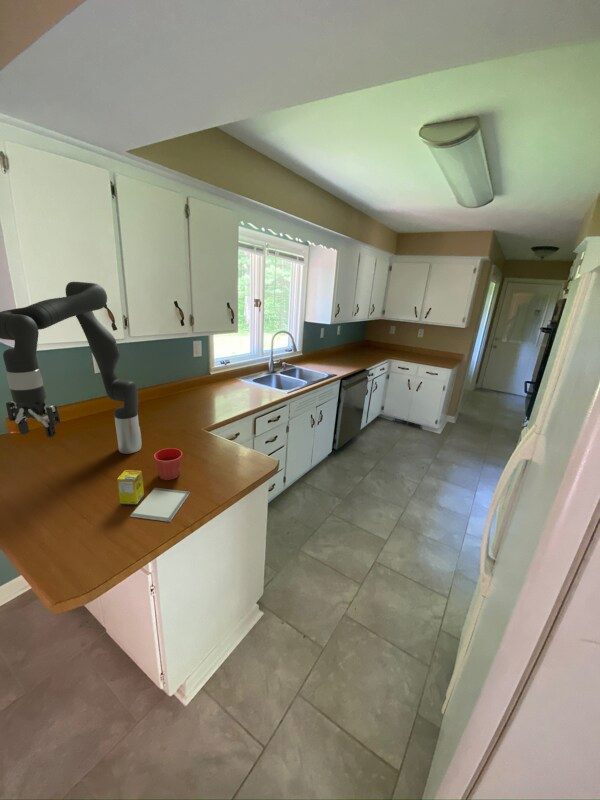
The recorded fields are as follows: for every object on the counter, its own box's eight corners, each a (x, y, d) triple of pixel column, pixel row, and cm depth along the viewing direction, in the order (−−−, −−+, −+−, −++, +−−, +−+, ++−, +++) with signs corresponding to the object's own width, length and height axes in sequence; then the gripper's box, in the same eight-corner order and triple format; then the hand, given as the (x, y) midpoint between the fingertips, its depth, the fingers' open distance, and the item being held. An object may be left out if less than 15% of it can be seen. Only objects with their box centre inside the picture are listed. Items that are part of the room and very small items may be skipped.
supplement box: (144, 495, 117) (142, 470, 114) (137, 506, 112) (134, 479, 108) (128, 494, 117) (125, 469, 113) (120, 505, 111) (116, 479, 108)
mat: (154, 488, 122) (154, 487, 122) (190, 492, 121) (190, 491, 121) (130, 516, 107) (130, 515, 107) (170, 521, 106) (170, 520, 106)
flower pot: (184, 467, 137) (183, 447, 134) (181, 481, 127) (180, 460, 124) (158, 468, 135) (157, 448, 132) (153, 483, 125) (151, 461, 122)
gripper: (60, 383, 94) (69, 432, 100) (15, 378, 95) (27, 427, 101) (38, 391, 87) (49, 443, 93) (-10, 386, 88) (4, 438, 94)
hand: (38, 435), depth 97 cm, fingers open, 8 cm apart
